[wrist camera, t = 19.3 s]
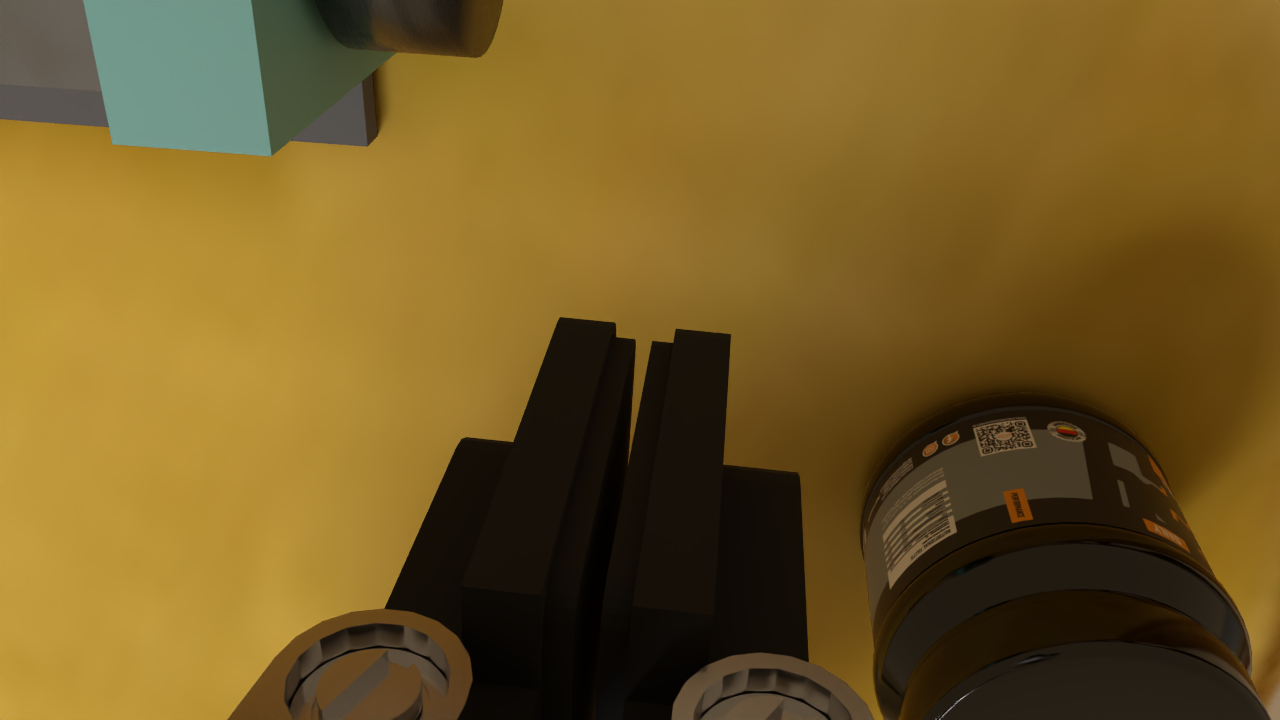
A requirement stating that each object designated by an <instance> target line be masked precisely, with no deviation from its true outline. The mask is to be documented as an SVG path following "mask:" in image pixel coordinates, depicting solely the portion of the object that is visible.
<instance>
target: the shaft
mask: <svg viewBox="0 0 1280 720" xmlns="http://www.w3.org/2000/svg"><path fill="white" fill-rule="evenodd" d="M315 2H316V5H317V7H318V10H319V12H320V15H321V16H322V18H323V20H324V22H325V24H326V26H327V28H328V29H329V31H330V32H331V34H332V35H333V37H334V38H335V39H336V40H337V41H338V42H339V43H340V44H342V45H343V46H345V47H346V48H350V49H356V50H371V51H385V52H400V53H414V54H429V55H443V56H458V57H473V58H477V57H481V56H482V55H483V54H485V52H486V51H487V50H488V48H489V47H490V44H491V42H492V40H493V38H494V35H495V32H496V29H497V26H498V22H499V19H500V14H501V10H502V5H503V0H315Z"/></svg>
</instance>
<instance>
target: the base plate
mask: <svg viewBox="0 0 1280 720" xmlns="http://www.w3.org/2000/svg"><path fill="white" fill-rule="evenodd" d="M0 119H7V120H21V121H34V122H47V123H61V124H74V125H87V126H101V127H109V124H108V120H107V115H106V110H105V105H104V100H103V95H102V91H89V90H75V89H61V88H48V87H34V86H20V85H6V84H0ZM377 136H378V135H377V123H376V111H375V99H374V87H373V76H372V73H371V74H370V75H369V76H368V77H366V78H365V79H364V80H363V81H362V82H360V83H359V84H358V85H357V86H356V87H354V88H353V89H352V90H351V91H349V92H348V93H347V94H346V95H345V96H343V97H342V98H341V99H340V100H339V101H337V102H336V103H335V104H334V105H333V106H331V107H330V108H329V109H328V110H327V111H325V112H324V113H323V114H322V115H321V116H319V117H318V118H317V119H316V120H315V121H313V122H312V123H311V124H310V125H309V126H307V127H306V128H305V129H304V130H303V131H301V132H300V133H299V134H298V135H297V136H295V137H294V138H293V139H292V140H290V141H301V142H314V143H327V144H341V145H354V146H367V147H368V146H369V144H370V143H371V142H372V141H373V140H374V139H375V138H376V137H377Z"/></svg>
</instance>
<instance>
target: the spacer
mask: <svg viewBox="0 0 1280 720" xmlns="http://www.w3.org/2000/svg"><path fill="white" fill-rule="evenodd" d="M83 2H84V7H85V12H86V17H87V22H88V27H89V32H90V36H91V41H92V46H93V51H94V56H95V61H96V66H97V71H98V76H99V80H100V85H101V90H102V95H103V100H104V105H105V110H106V115H107V120H108V124H109V129H110V134H111V139H112V144H117V145H130V146H143V147H156V148H170V149H183V150H196V151H209V152H222V153H235V154H248V155H261V156H272V155H274V154H275V153H276V152H277V151H278V150H280V149H281V148H282V147H283V146H284V145H286V144H287V143H288V142H289V141H290V140H292V139H293V138H294V137H295V136H297V135H298V134H299V133H300V132H301V131H303V130H304V129H305V128H306V127H307V126H309V125H310V124H311V123H312V122H313V121H315V120H316V119H317V118H318V117H319V116H321V115H322V114H323V113H324V112H325V111H327V110H328V109H329V108H330V107H331V106H333V105H334V104H335V103H336V102H337V101H339V100H340V99H341V98H342V97H343V96H345V95H346V94H347V93H348V92H349V91H351V90H352V89H353V88H354V87H356V86H357V85H358V84H359V83H360V82H362V81H363V80H364V79H365V78H366V77H368V76H369V75H370V74H371V73H372V72H374V71H375V70H376V69H377V68H378V67H380V66H381V65H382V64H383V63H384V62H386V61H387V60H388V59H389V58H390V57H392V56H393V55H394V54H395V53H396V52H385V51H371V50H356V49H350V48H346V47H345V46H343V45H342V44H340V43H339V42H338V41H337V40H336V39H335V38H334V37H333V35H332V34H331V32H330V31H329V29H328V28H327V26H326V24H325V22H324V20H323V18H322V16H321V15H320V12H319V10H318V7H317V5H316V2H315V0H83Z"/></svg>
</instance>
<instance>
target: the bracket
mask: <svg viewBox="0 0 1280 720" xmlns="http://www.w3.org/2000/svg"><path fill="white" fill-rule="evenodd" d="M0 84H6V85H20V86H34V87H48V88H61V89H75V90H89V91H102V90H101V85H100V80H99V76H98V71H97V66H96V61H95V56H94V51H93V46H92V41H91V36H90V32H89V27H88V22H87V17H86V12H85V7H84V2H83V0H0Z"/></svg>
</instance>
